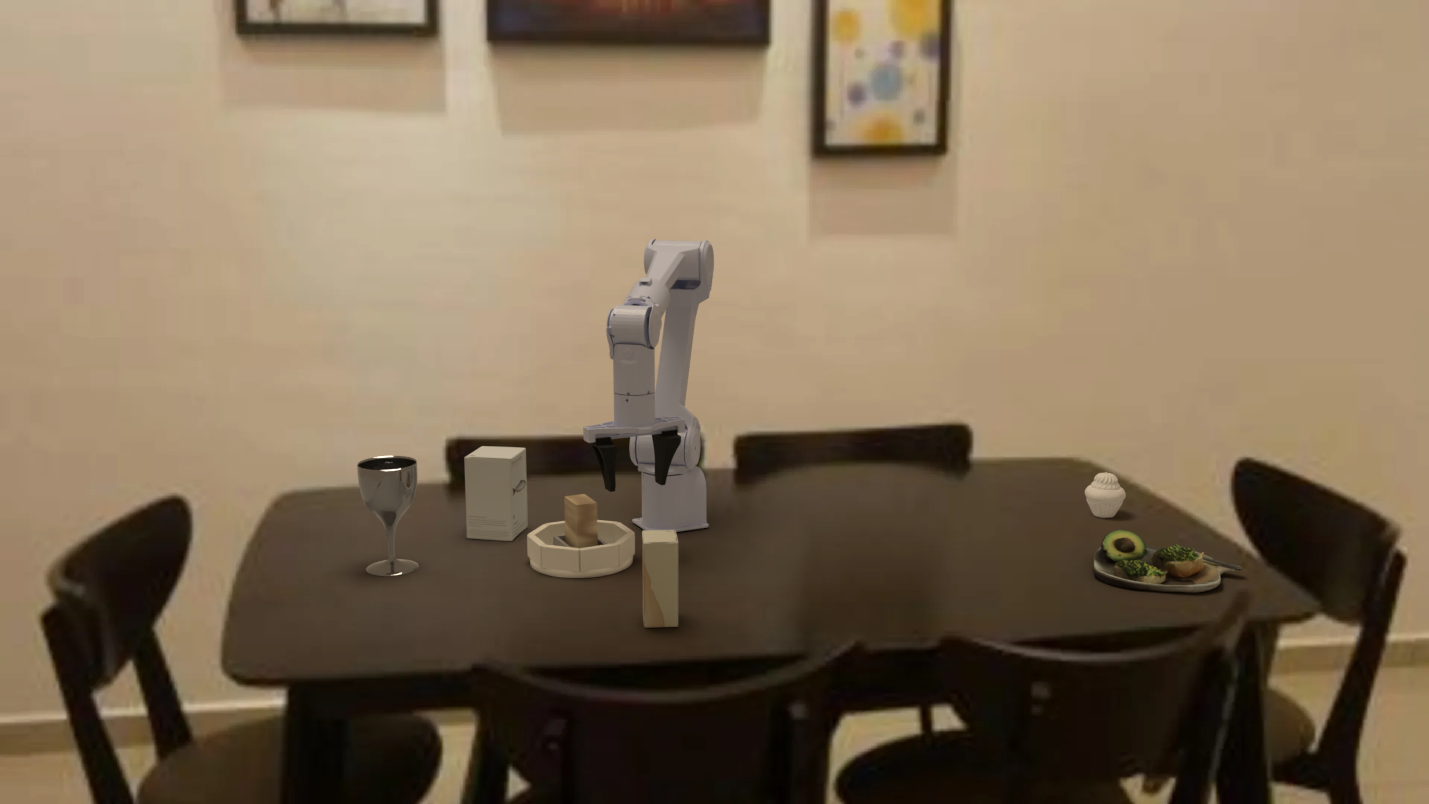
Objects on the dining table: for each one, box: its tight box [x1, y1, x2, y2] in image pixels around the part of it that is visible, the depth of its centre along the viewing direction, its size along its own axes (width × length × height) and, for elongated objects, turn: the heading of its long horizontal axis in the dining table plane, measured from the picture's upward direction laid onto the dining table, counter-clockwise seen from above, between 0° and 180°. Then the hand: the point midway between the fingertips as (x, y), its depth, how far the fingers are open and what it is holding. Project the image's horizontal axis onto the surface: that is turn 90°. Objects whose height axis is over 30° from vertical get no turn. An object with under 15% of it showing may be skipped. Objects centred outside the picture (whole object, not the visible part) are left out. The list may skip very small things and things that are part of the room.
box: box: [641, 530, 679, 629], centre depth 169 cm, size 5×4×11 cm
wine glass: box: [356, 455, 420, 577], centre depth 189 cm, size 8×8×15 cm
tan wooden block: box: [563, 493, 598, 548], centre depth 192 cm, size 3×5×8 cm, turn 26°
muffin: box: [1084, 471, 1127, 519], centre depth 215 cm, size 6×6×7 cm
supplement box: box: [463, 445, 529, 542], centre depth 205 cm, size 7×7×13 cm
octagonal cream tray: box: [526, 519, 636, 579], centre depth 193 cm, size 14×14×4 cm
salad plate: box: [1091, 529, 1243, 593], centre depth 188 cm, size 19×18×5 cm
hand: (635, 486), depth 193 cm, fingers open, 7 cm apart
